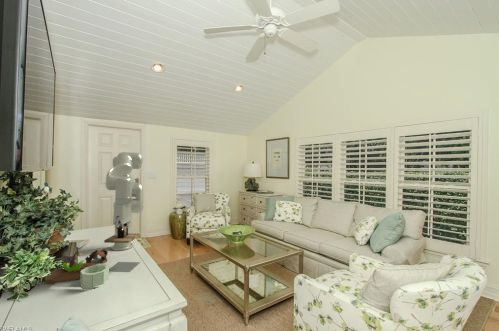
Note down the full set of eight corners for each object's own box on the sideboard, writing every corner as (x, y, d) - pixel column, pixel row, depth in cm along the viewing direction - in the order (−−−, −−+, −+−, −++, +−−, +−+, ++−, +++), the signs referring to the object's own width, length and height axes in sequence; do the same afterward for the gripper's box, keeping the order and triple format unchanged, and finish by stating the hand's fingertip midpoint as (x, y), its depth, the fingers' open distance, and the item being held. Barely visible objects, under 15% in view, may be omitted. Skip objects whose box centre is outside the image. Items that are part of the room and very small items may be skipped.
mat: (118, 263, 133) (118, 261, 133) (140, 264, 133) (140, 262, 133) (105, 273, 121) (105, 271, 121) (129, 274, 121) (129, 272, 121)
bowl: (90, 277, 116) (91, 264, 116) (112, 278, 116) (112, 264, 116) (75, 289, 105) (75, 274, 105) (99, 289, 105) (99, 274, 105)
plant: (83, 284, 110) (84, 260, 110) (36, 286, 107) (36, 261, 107) (104, 266, 130) (104, 245, 130) (64, 267, 127) (64, 246, 127)
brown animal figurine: (102, 268, 127) (93, 256, 126) (88, 274, 129) (79, 262, 127) (115, 254, 139) (107, 243, 137) (102, 260, 140) (94, 249, 139)
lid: (117, 235, 131) (117, 224, 131) (139, 235, 131) (139, 224, 131) (104, 242, 119) (104, 230, 119) (128, 243, 119) (128, 230, 119)
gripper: (124, 198, 133) (123, 232, 133) (106, 203, 117) (106, 241, 117) (137, 199, 133) (137, 232, 133) (122, 204, 117) (121, 241, 117)
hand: (122, 236), depth 125 cm, fingers closed on lid, 3 cm apart
